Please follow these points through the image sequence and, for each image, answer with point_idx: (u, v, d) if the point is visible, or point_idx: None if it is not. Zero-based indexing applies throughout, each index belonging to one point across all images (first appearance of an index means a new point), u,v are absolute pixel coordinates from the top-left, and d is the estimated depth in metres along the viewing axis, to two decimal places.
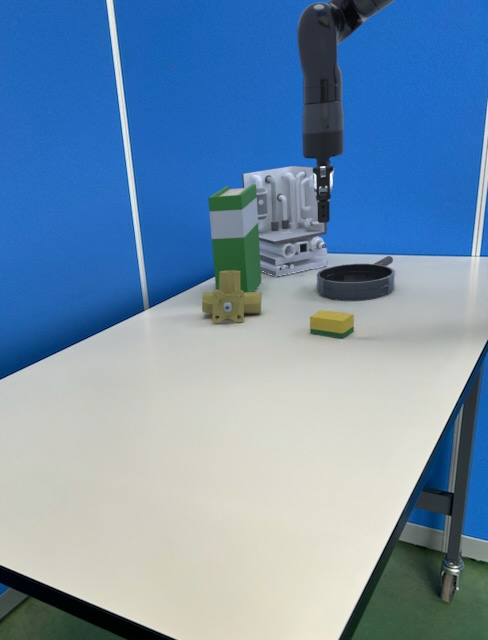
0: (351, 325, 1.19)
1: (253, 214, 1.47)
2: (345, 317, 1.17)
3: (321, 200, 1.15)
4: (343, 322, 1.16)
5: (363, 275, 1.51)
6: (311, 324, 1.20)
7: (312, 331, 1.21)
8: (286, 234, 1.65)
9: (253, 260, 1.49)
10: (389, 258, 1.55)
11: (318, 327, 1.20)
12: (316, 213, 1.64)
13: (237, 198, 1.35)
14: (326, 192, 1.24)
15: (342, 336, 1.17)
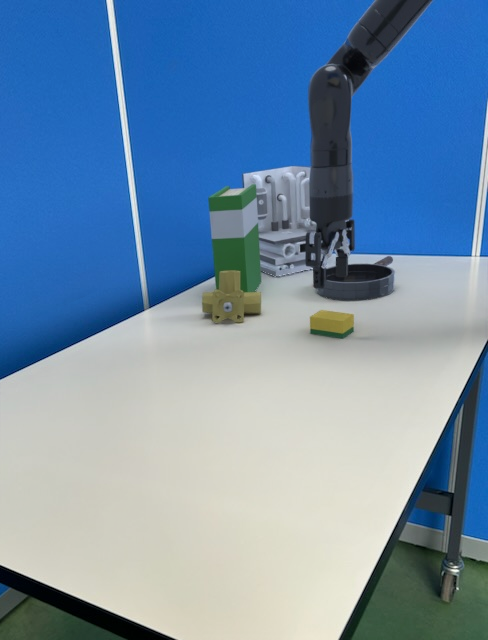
0: (351, 325, 1.19)
1: (253, 214, 1.47)
2: (345, 317, 1.17)
3: (311, 266, 1.11)
4: (343, 322, 1.16)
5: (363, 275, 1.51)
6: (311, 324, 1.20)
7: (312, 331, 1.21)
8: (286, 234, 1.65)
9: (253, 260, 1.49)
10: (389, 258, 1.55)
11: (318, 327, 1.20)
12: None
13: (237, 198, 1.35)
14: (344, 254, 1.17)
15: (342, 336, 1.17)
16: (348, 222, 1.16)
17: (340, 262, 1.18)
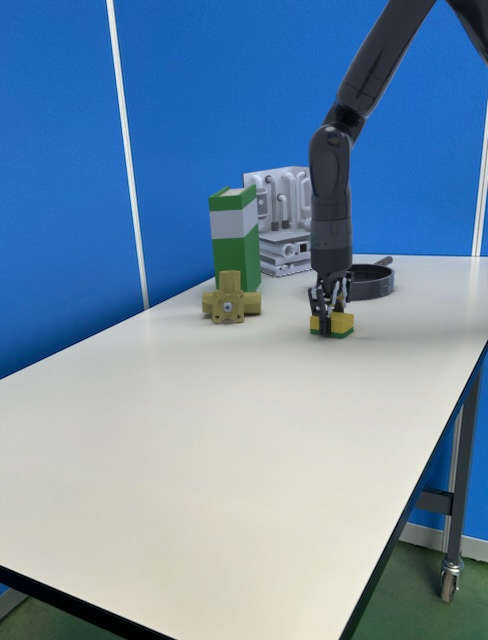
0: (351, 325, 1.19)
1: (253, 214, 1.47)
2: (345, 317, 1.17)
3: (318, 316, 1.16)
4: (343, 322, 1.16)
5: (363, 275, 1.51)
6: (311, 324, 1.20)
7: (312, 331, 1.21)
8: (286, 234, 1.65)
9: (253, 260, 1.49)
10: (389, 258, 1.55)
11: (318, 327, 1.20)
12: None
13: (237, 198, 1.35)
14: (340, 306, 1.20)
15: (342, 336, 1.17)
16: (348, 273, 1.20)
17: None
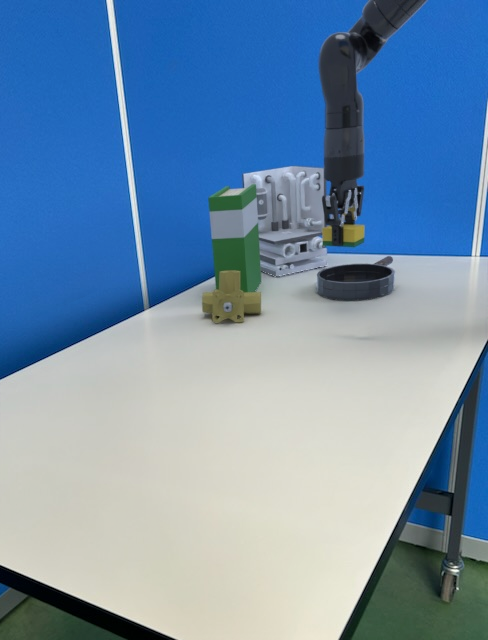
0: (362, 235, 1.24)
1: (253, 214, 1.47)
2: (356, 227, 1.23)
3: (331, 225, 1.21)
4: (355, 230, 1.21)
5: (363, 275, 1.51)
6: (323, 236, 1.26)
7: (324, 243, 1.26)
8: (286, 234, 1.65)
9: (253, 260, 1.49)
10: (389, 258, 1.55)
11: (330, 238, 1.25)
12: (316, 213, 1.64)
13: (237, 198, 1.35)
14: (351, 218, 1.25)
15: (354, 245, 1.22)
16: (358, 187, 1.25)
17: None
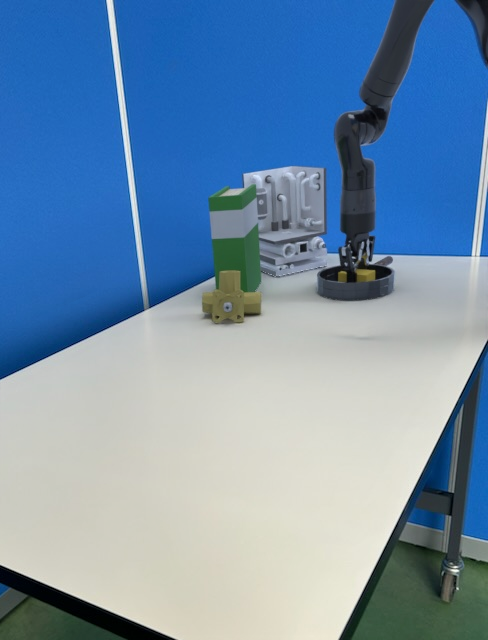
0: (373, 279, 1.42)
1: (253, 214, 1.47)
2: (368, 272, 1.41)
3: (346, 271, 1.39)
4: (366, 276, 1.39)
5: None
6: (339, 279, 1.44)
7: None
8: (286, 234, 1.65)
9: (253, 260, 1.49)
10: (389, 258, 1.55)
11: (345, 281, 1.43)
12: (316, 213, 1.64)
13: (237, 198, 1.35)
14: (363, 264, 1.43)
15: None
16: (370, 237, 1.43)
17: None
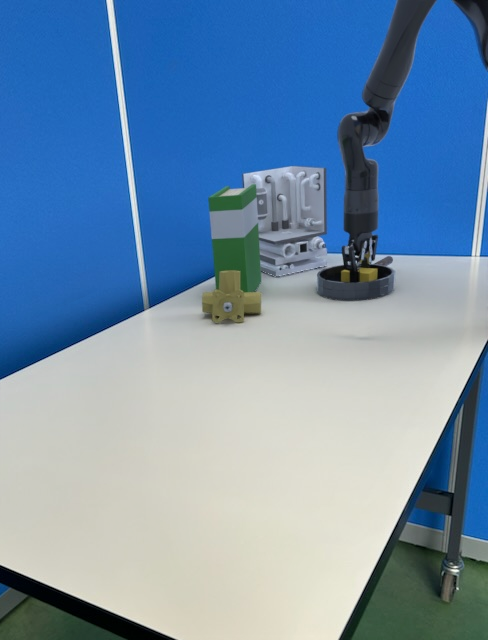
0: (375, 278, 1.45)
1: (253, 214, 1.47)
2: (370, 271, 1.43)
3: (349, 270, 1.42)
4: (369, 274, 1.42)
5: None
6: (342, 277, 1.46)
7: None
8: (286, 234, 1.65)
9: (253, 260, 1.49)
10: (389, 258, 1.55)
11: (348, 280, 1.45)
12: (316, 213, 1.64)
13: (237, 198, 1.35)
14: (366, 263, 1.46)
15: None
16: (373, 236, 1.45)
17: None
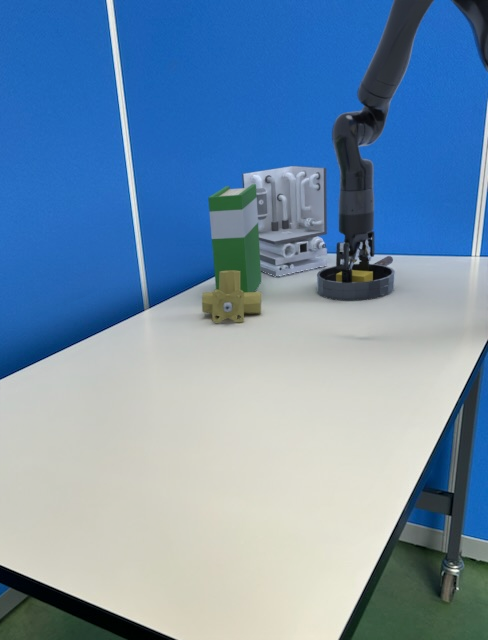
0: None
1: (253, 214, 1.47)
2: (366, 274, 1.41)
3: (341, 270, 1.38)
4: (364, 277, 1.40)
5: None
6: (337, 280, 1.44)
7: None
8: (286, 234, 1.65)
9: (253, 260, 1.49)
10: (389, 258, 1.55)
11: None
12: (316, 213, 1.64)
13: (237, 198, 1.35)
14: (366, 259, 1.45)
15: None
16: (369, 233, 1.43)
17: (363, 266, 1.46)
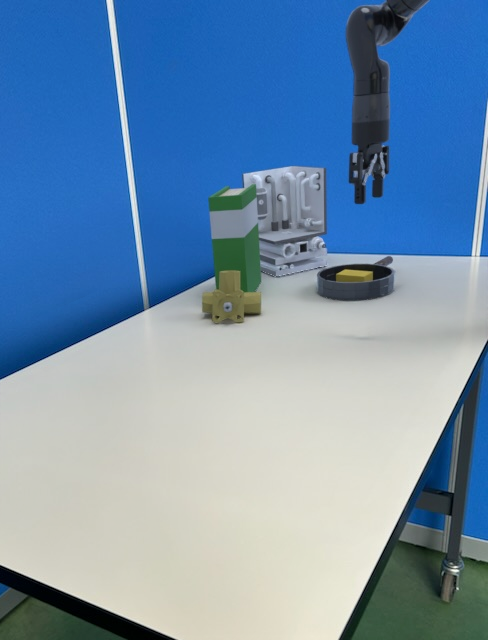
0: None
1: (253, 214, 1.47)
2: (366, 274, 1.41)
3: (354, 183, 1.29)
4: (364, 277, 1.40)
5: None
6: (337, 280, 1.44)
7: None
8: (286, 234, 1.65)
9: (253, 260, 1.49)
10: (389, 258, 1.55)
11: None
12: (316, 213, 1.64)
13: (237, 198, 1.35)
14: (380, 176, 1.35)
15: None
16: (384, 148, 1.34)
17: (376, 184, 1.36)
